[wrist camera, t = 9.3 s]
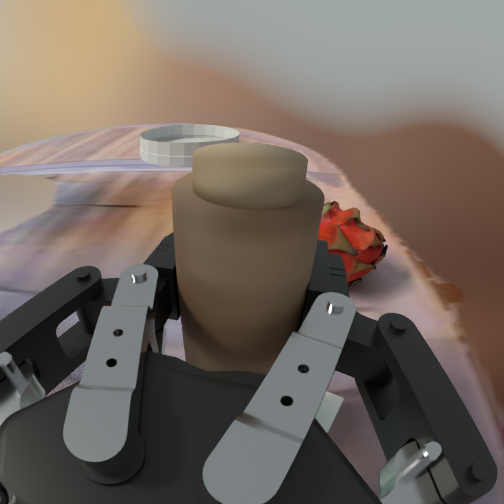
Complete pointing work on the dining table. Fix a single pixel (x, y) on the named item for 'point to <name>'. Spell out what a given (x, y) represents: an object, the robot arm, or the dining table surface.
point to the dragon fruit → (351, 240)
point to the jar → (243, 253)
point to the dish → (181, 143)
